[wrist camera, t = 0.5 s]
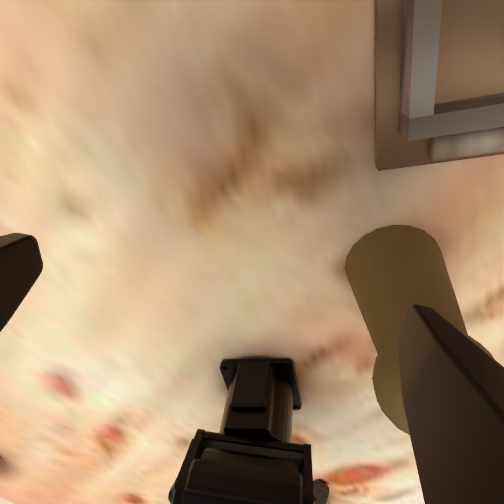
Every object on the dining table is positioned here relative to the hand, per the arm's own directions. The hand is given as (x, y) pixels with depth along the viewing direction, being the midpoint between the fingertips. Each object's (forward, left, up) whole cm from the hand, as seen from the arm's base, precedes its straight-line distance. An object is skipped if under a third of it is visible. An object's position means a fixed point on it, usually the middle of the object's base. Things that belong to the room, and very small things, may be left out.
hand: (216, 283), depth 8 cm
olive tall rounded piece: (-10, -7, -14) cm, 18 cm away
